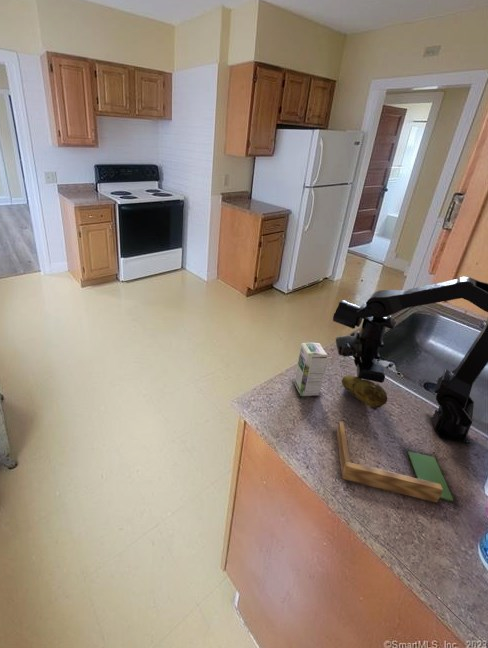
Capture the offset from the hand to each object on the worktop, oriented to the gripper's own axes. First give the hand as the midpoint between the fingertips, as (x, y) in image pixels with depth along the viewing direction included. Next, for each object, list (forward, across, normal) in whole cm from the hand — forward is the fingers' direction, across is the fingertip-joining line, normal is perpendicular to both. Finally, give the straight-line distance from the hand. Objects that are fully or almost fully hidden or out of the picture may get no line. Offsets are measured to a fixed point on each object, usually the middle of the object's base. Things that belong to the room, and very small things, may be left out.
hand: (359, 378), depth 95 cm
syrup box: (+4, +6, -15) cm, 16 cm away
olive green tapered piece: (+3, +5, 0) cm, 6 cm away
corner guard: (+3, +25, +1) cm, 26 cm away
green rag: (+3, +25, +11) cm, 28 cm away
